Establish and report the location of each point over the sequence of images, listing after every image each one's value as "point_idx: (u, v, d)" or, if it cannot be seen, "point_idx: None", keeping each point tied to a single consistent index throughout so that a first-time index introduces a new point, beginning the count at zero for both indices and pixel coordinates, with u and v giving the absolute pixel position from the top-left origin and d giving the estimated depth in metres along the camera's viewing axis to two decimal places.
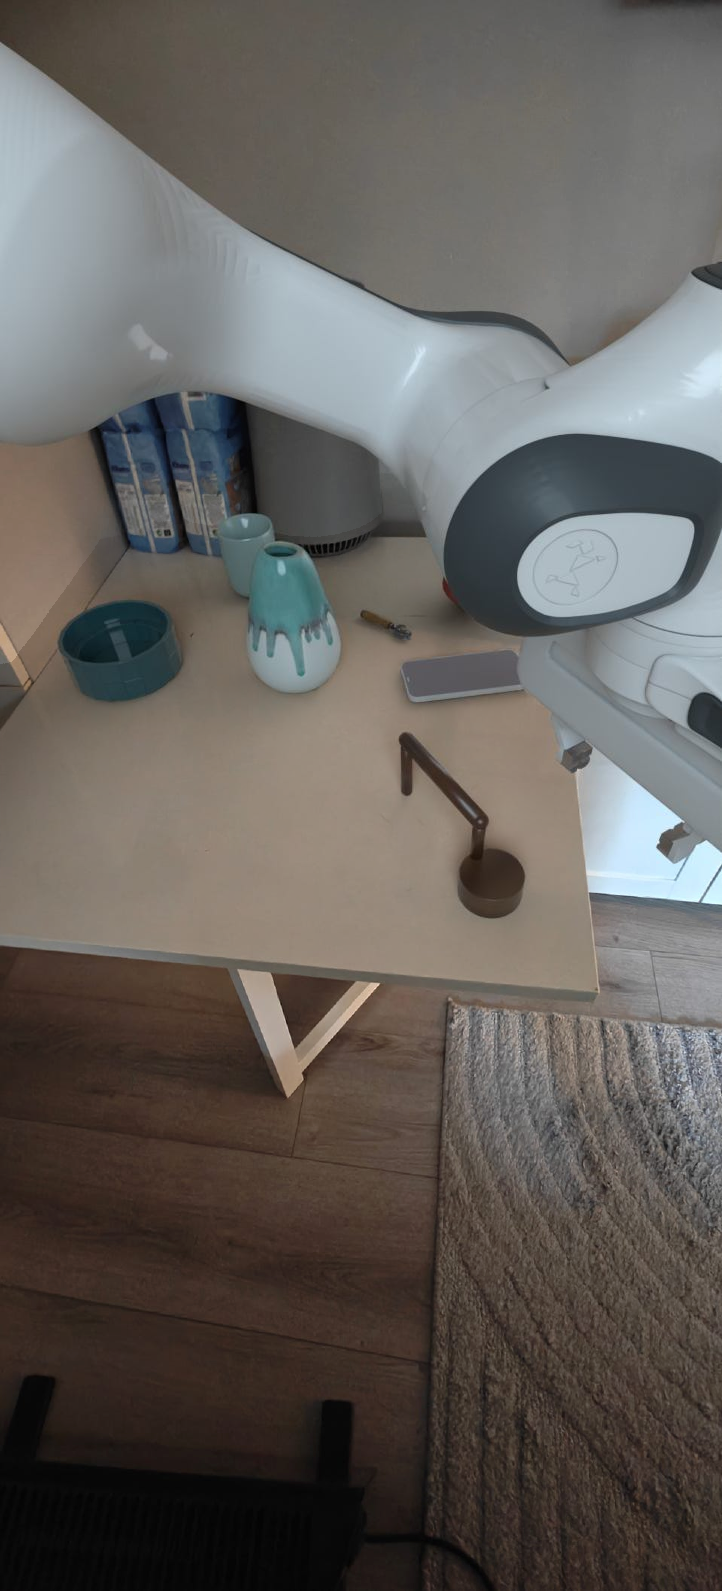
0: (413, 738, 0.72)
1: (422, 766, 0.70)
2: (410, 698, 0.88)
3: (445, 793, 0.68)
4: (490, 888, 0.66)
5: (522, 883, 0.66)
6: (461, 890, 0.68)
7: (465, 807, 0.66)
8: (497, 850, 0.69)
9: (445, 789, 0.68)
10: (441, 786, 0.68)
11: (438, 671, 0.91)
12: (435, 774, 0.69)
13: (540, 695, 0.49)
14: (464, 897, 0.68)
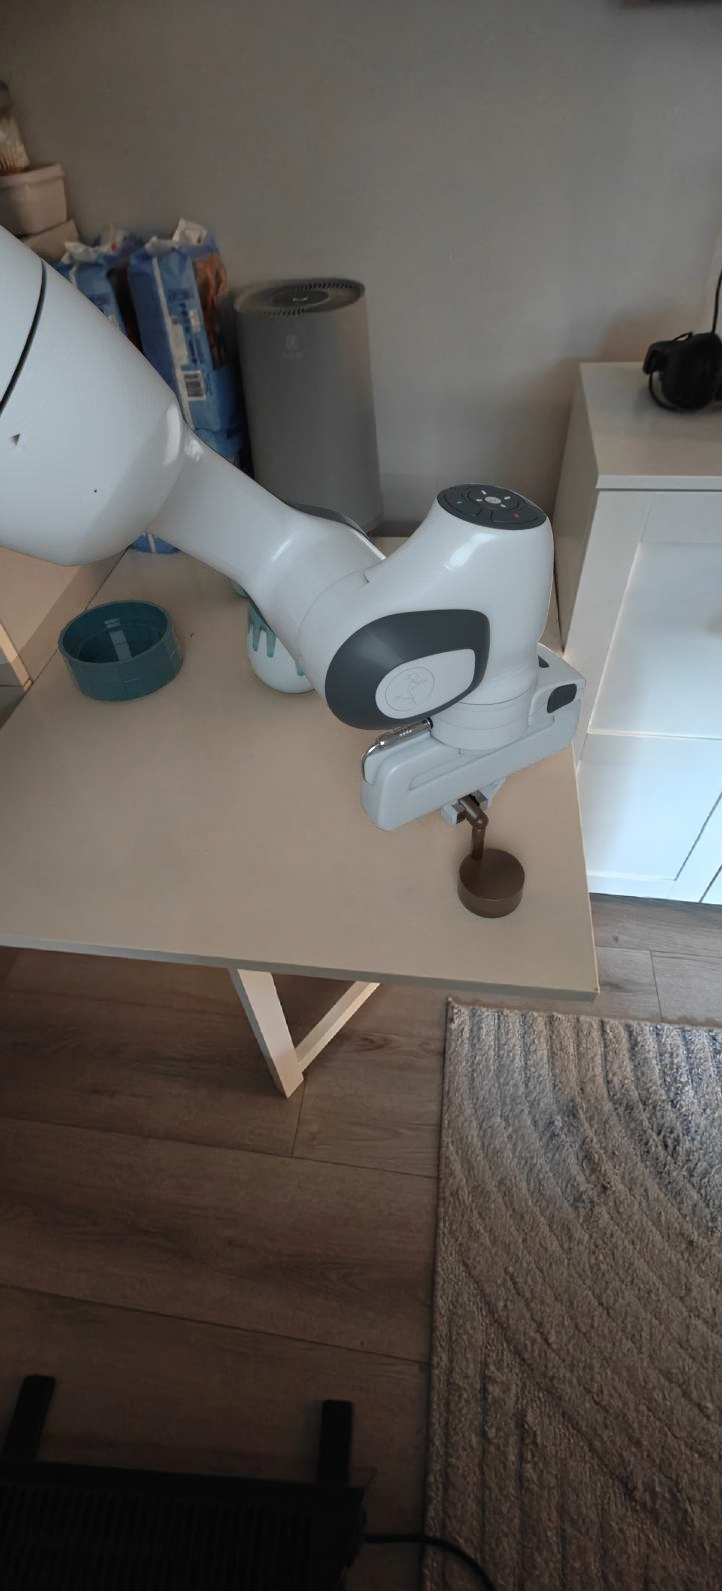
0: None
1: None
2: None
3: None
4: (490, 888, 0.66)
5: (522, 883, 0.66)
6: (461, 890, 0.68)
7: (464, 807, 0.66)
8: (497, 850, 0.69)
9: None
10: None
11: None
12: None
13: (411, 817, 0.60)
14: (464, 897, 0.68)
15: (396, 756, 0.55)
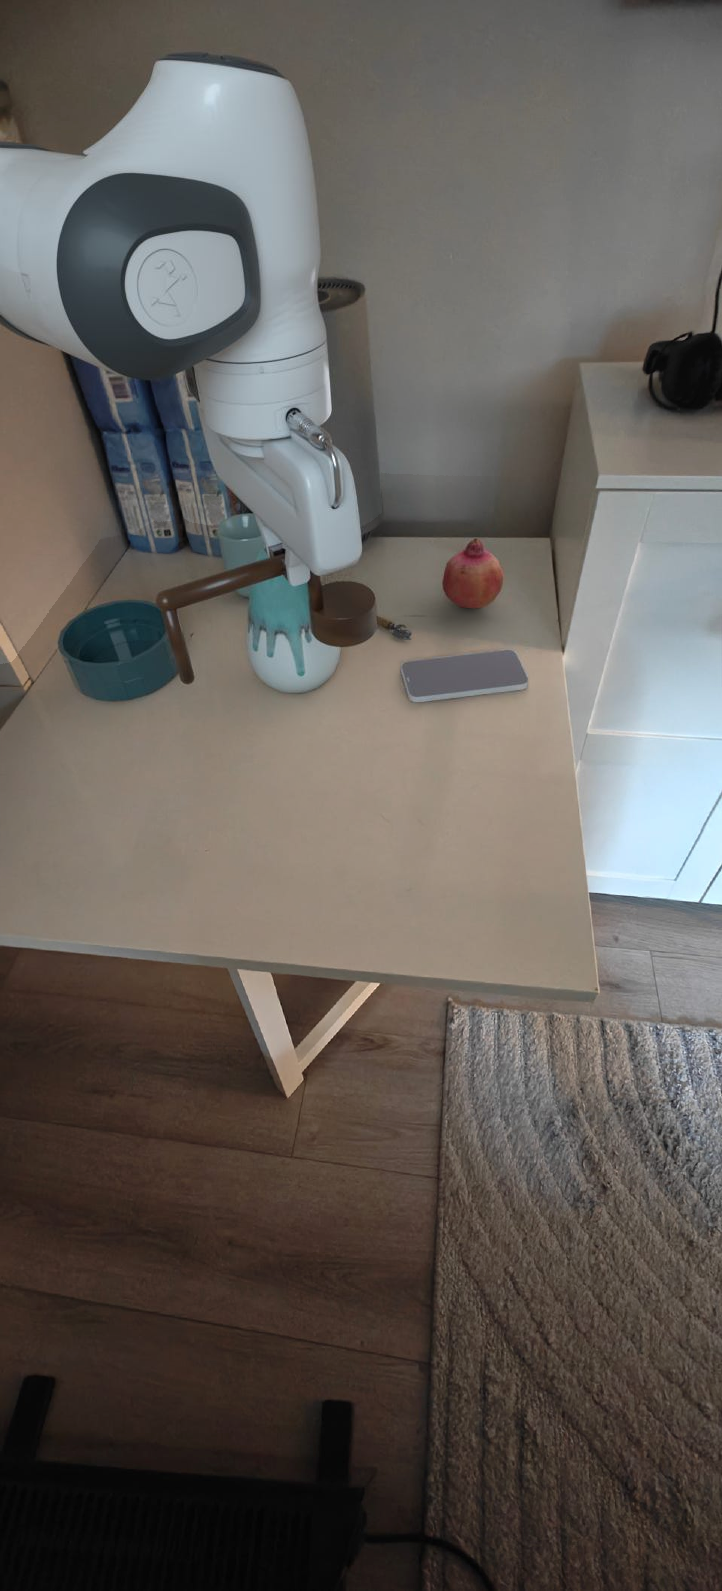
0: (173, 587, 0.56)
1: (220, 586, 0.57)
2: (410, 698, 0.88)
3: (266, 574, 0.58)
4: (360, 600, 0.64)
5: (356, 582, 0.66)
6: (352, 629, 0.63)
7: None
8: None
9: (263, 570, 0.58)
10: (257, 573, 0.58)
11: (438, 671, 0.91)
12: (240, 574, 0.57)
13: None
14: (359, 631, 0.64)
15: None
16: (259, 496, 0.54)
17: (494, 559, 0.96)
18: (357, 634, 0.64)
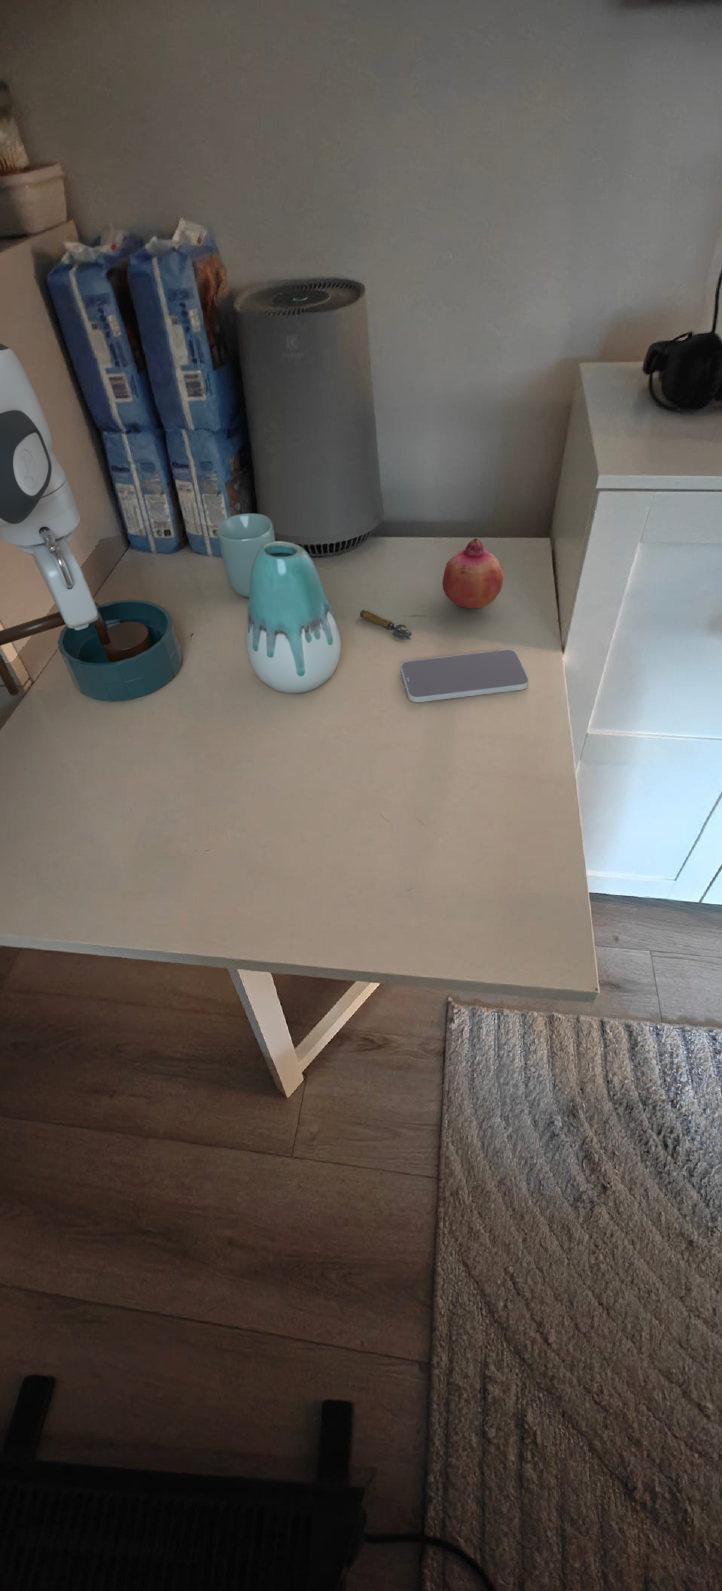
0: None
1: (24, 631, 0.86)
2: (410, 698, 0.88)
3: (58, 622, 0.87)
4: (136, 636, 0.93)
5: None
6: (129, 656, 0.92)
7: None
8: None
9: (56, 620, 0.87)
10: (51, 622, 0.87)
11: (438, 671, 0.91)
12: (38, 623, 0.86)
13: None
14: None
15: (64, 555, 0.76)
16: (42, 574, 0.83)
17: (494, 559, 0.96)
18: None
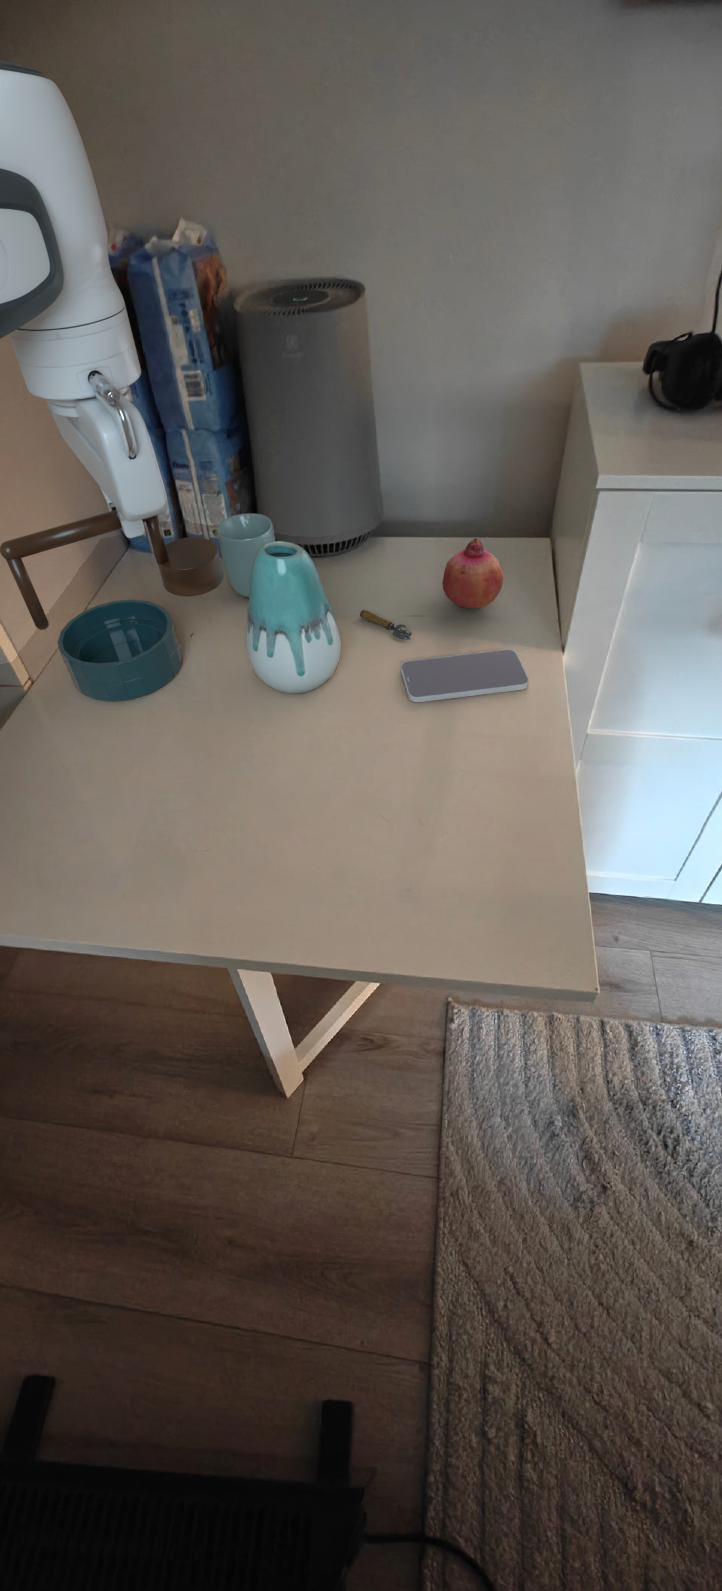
0: (16, 538, 0.62)
1: (59, 537, 0.63)
2: (410, 698, 0.88)
3: (104, 527, 0.64)
4: (203, 553, 0.70)
5: (203, 538, 0.72)
6: (195, 579, 0.70)
7: None
8: None
9: (101, 523, 0.64)
10: (95, 526, 0.64)
11: (438, 671, 0.91)
12: (78, 526, 0.64)
13: None
14: (201, 581, 0.70)
15: (125, 409, 0.53)
16: (85, 454, 0.60)
17: (494, 559, 0.96)
18: (200, 584, 0.70)
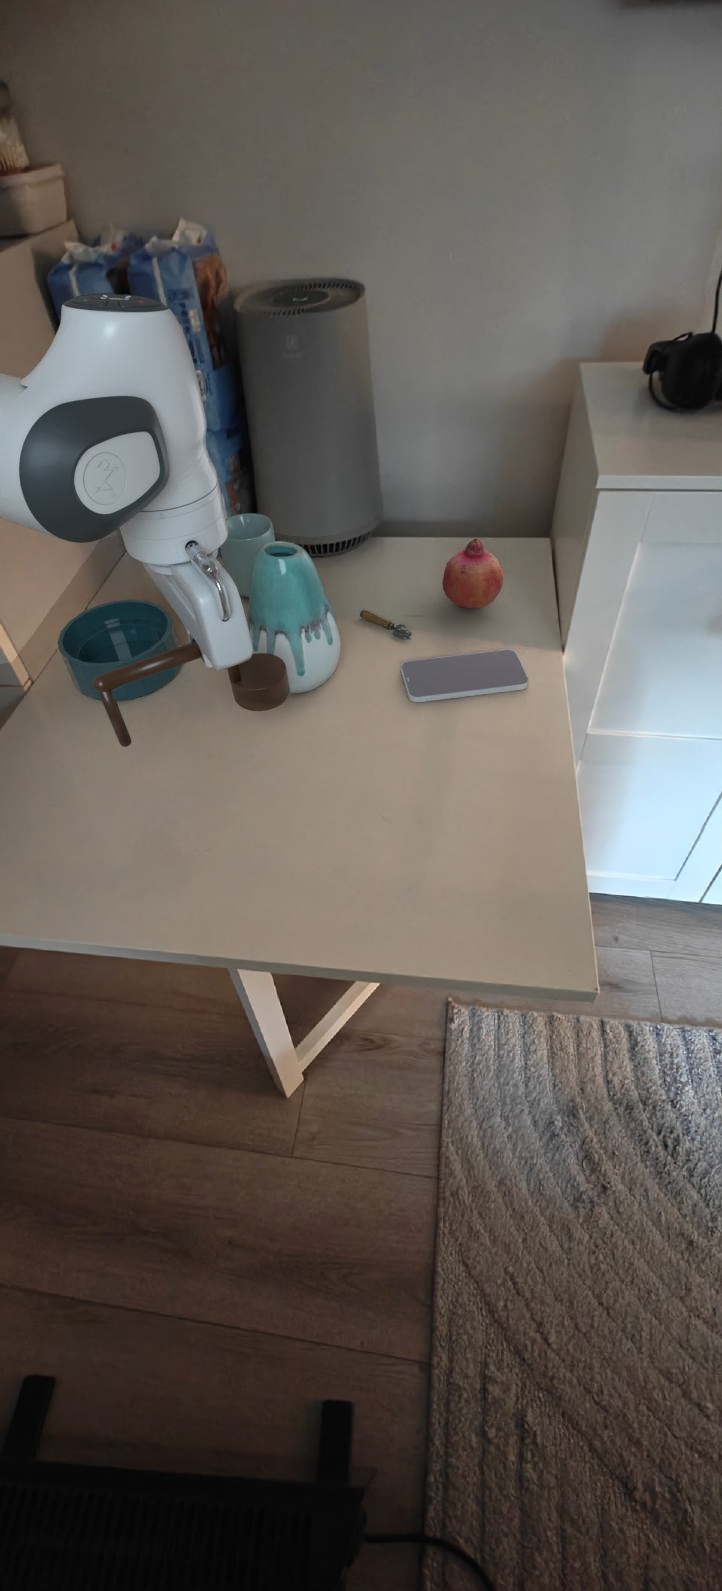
0: (107, 672, 0.68)
1: (147, 670, 0.68)
2: (410, 698, 0.88)
3: (187, 658, 0.70)
4: (273, 672, 0.76)
5: (271, 654, 0.78)
6: (265, 697, 0.75)
7: None
8: None
9: (184, 655, 0.69)
10: (179, 658, 0.69)
11: (438, 671, 0.91)
12: (163, 659, 0.69)
13: None
14: (271, 698, 0.75)
15: (220, 577, 0.58)
16: (174, 600, 0.65)
17: (494, 559, 0.96)
18: (270, 701, 0.75)
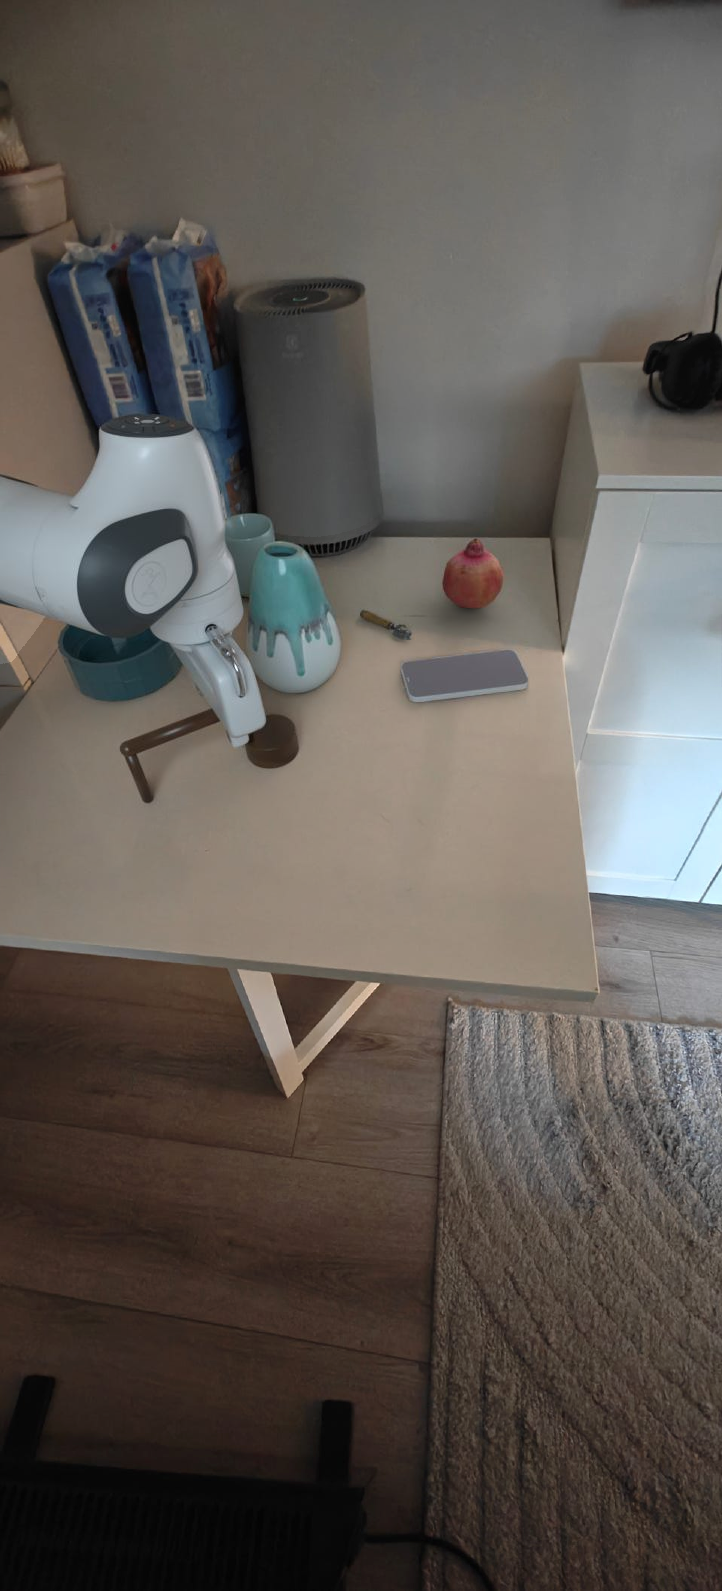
0: (133, 738, 0.74)
1: (169, 735, 0.75)
2: (410, 698, 0.88)
3: (205, 723, 0.76)
4: (283, 732, 0.82)
5: (281, 715, 0.84)
6: (276, 756, 0.81)
7: None
8: None
9: (202, 721, 0.76)
10: (198, 724, 0.76)
11: (438, 671, 0.91)
12: (184, 725, 0.75)
13: None
14: (282, 757, 0.82)
15: (237, 658, 0.64)
16: (192, 670, 0.71)
17: (494, 559, 0.96)
18: (281, 759, 0.82)
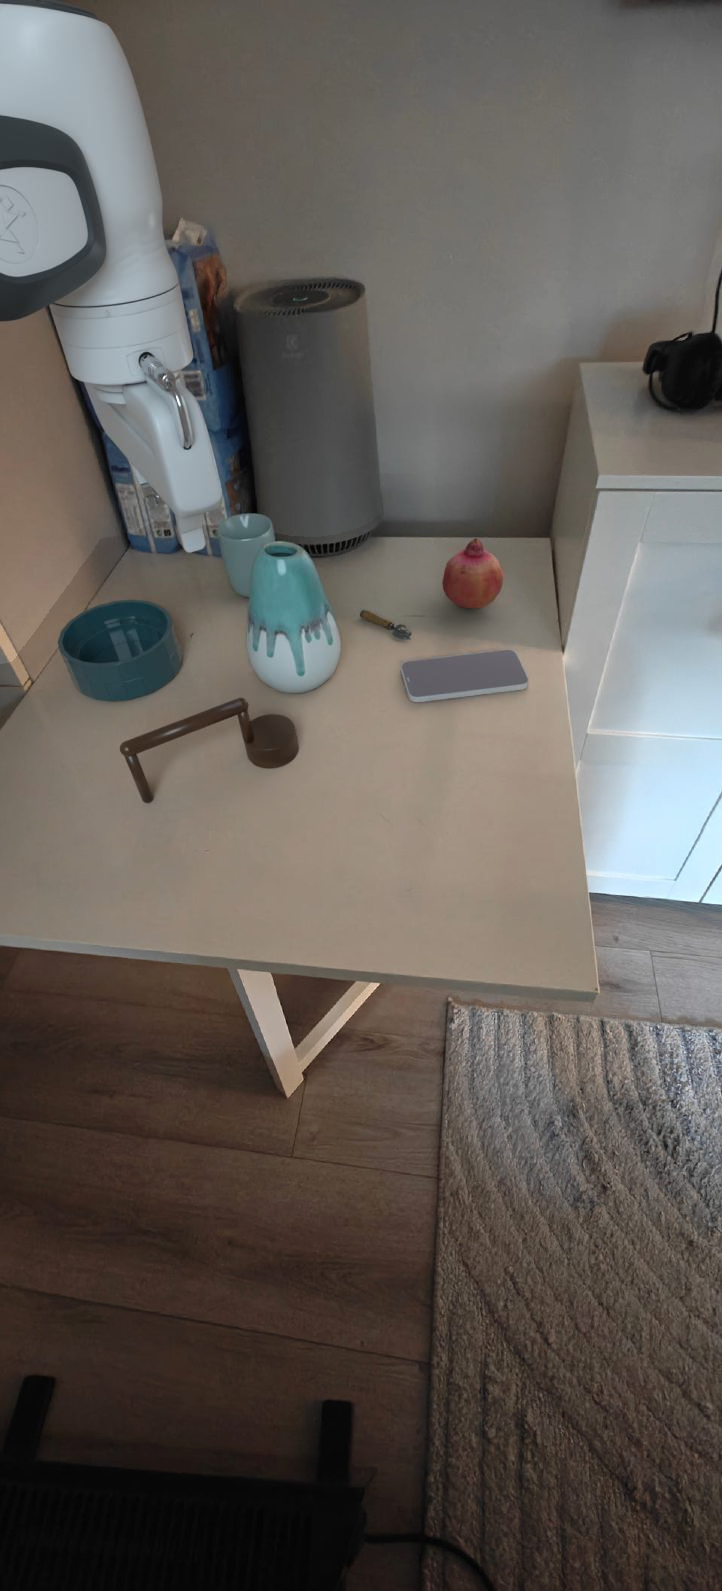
0: (133, 738, 0.74)
1: (169, 735, 0.75)
2: (410, 698, 0.88)
3: (205, 723, 0.76)
4: (283, 732, 0.82)
5: (281, 715, 0.84)
6: (276, 756, 0.81)
7: (228, 708, 0.77)
8: None
9: (202, 721, 0.76)
10: (198, 724, 0.76)
11: (438, 671, 0.91)
12: (184, 725, 0.75)
13: None
14: (282, 757, 0.82)
15: (180, 394, 0.48)
16: (131, 445, 0.55)
17: (494, 559, 0.96)
18: (281, 759, 0.82)
